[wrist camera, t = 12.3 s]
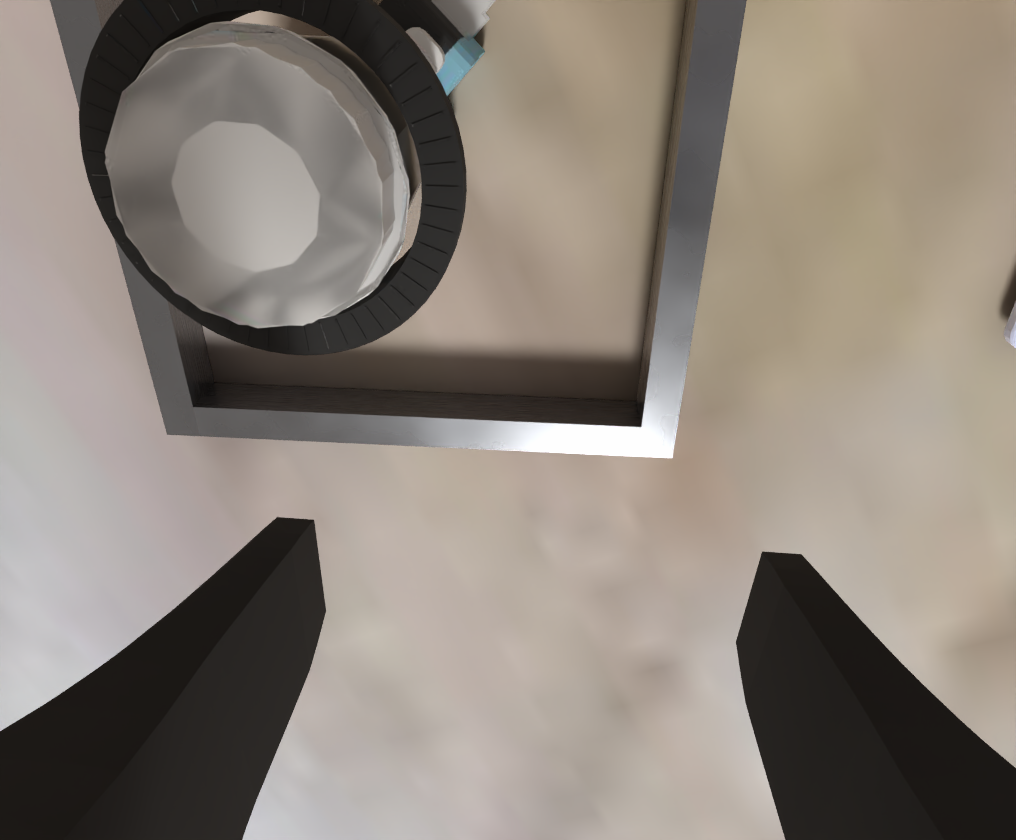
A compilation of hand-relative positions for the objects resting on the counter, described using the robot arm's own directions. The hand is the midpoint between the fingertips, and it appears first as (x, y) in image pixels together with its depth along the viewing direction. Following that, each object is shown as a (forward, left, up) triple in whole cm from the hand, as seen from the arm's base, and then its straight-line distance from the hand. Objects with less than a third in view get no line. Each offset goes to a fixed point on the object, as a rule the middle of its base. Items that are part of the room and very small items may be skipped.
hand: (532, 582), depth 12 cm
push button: (+3, -6, -11) cm, 13 cm away
